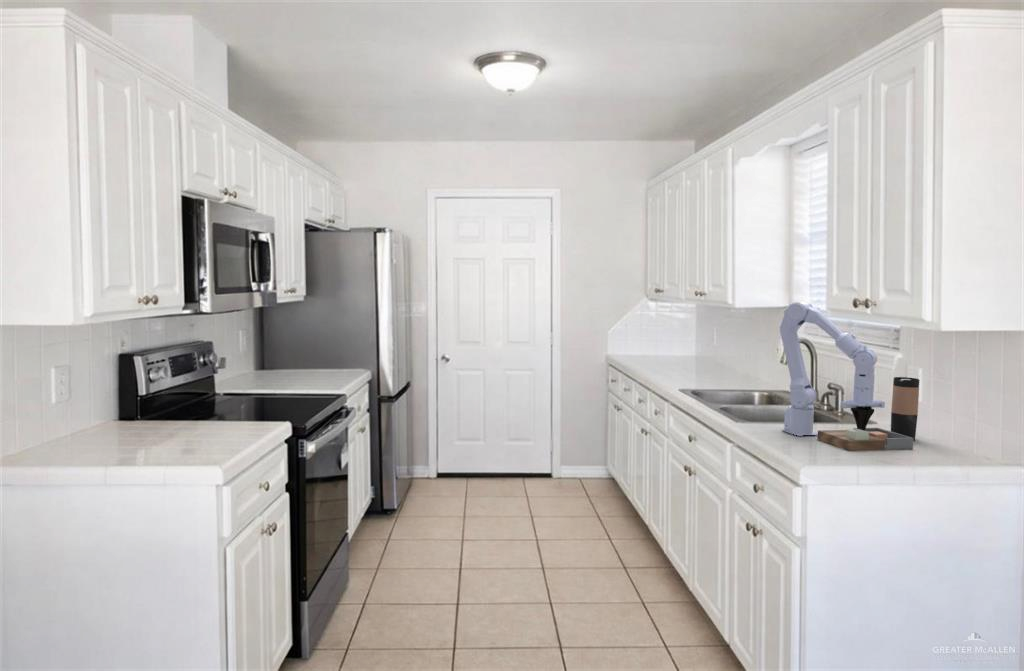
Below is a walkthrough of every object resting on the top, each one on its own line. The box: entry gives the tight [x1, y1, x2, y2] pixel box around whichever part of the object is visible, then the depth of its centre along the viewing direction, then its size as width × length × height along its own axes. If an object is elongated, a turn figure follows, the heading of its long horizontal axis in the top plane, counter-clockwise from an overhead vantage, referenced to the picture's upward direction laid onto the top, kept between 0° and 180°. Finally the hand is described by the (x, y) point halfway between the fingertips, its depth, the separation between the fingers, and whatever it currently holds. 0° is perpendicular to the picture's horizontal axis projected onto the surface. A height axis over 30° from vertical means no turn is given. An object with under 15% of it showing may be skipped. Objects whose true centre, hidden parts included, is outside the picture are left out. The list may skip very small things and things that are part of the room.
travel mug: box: [890, 376, 920, 442], centre depth 241 cm, size 8×8×20 cm
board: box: [817, 429, 885, 452], centre depth 230 cm, size 16×12×3 cm
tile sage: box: [845, 428, 869, 440], centre depth 226 cm, size 4×4×2 cm
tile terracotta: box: [869, 431, 888, 440], centre depth 236 cm, size 4×4×2 cm
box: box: [852, 427, 914, 451], centre depth 233 cm, size 16×10×4 cm, turn 12°
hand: (861, 430), depth 234 cm, fingers closed
